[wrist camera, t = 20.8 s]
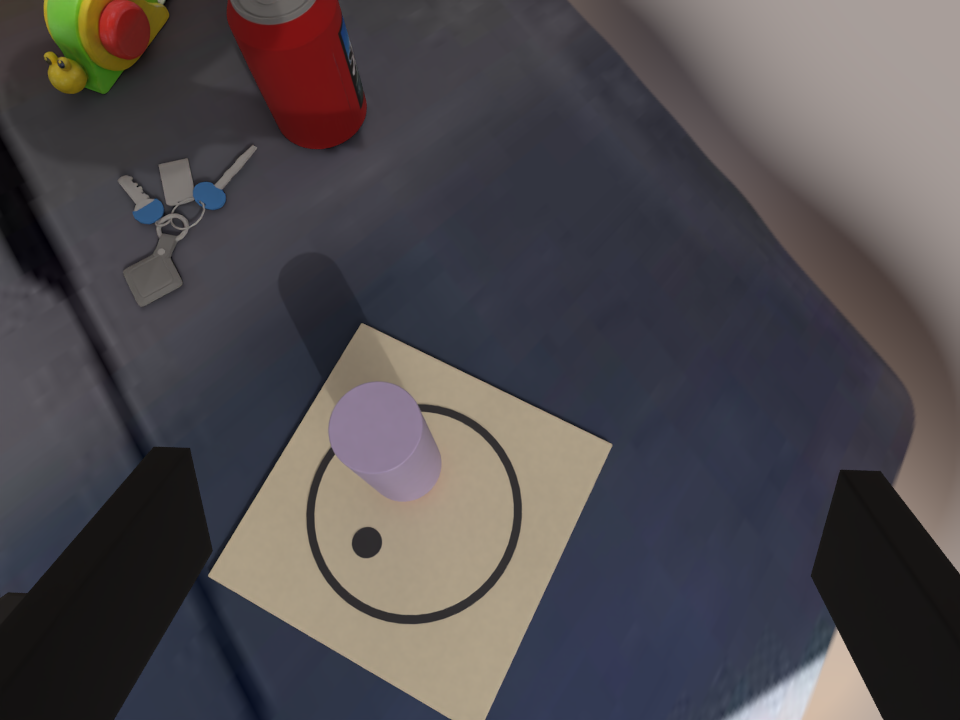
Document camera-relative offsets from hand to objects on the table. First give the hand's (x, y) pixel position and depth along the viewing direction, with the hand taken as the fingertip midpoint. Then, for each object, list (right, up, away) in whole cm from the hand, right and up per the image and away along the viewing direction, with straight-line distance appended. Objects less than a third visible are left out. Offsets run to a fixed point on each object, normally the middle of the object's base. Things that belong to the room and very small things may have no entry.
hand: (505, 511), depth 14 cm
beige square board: (-5, -6, +28) cm, 29 cm away
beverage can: (-12, +21, +38) cm, 45 cm away
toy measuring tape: (-27, +30, +41) cm, 58 cm away
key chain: (-23, +14, +35) cm, 44 cm away
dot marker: (-5, -3, +28) cm, 29 cm away
